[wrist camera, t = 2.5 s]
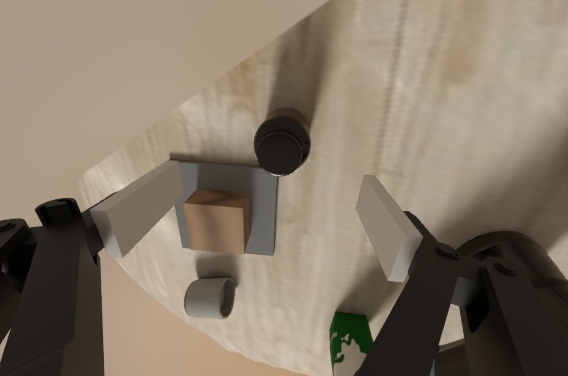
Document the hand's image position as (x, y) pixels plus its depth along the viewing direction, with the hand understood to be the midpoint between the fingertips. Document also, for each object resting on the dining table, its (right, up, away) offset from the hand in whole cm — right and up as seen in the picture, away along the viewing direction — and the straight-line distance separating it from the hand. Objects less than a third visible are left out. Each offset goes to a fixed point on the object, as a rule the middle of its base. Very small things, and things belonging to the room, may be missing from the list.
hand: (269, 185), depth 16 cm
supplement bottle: (+1, +9, +18) cm, 20 cm away
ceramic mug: (-13, -22, +34) cm, 43 cm away
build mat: (-9, -4, +25) cm, 27 cm away
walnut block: (-9, -5, +24) cm, 26 cm away
